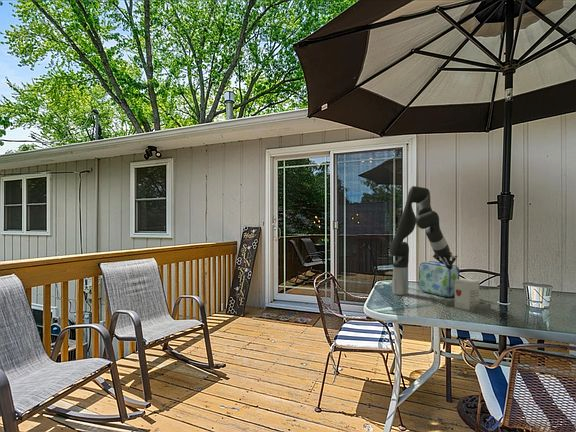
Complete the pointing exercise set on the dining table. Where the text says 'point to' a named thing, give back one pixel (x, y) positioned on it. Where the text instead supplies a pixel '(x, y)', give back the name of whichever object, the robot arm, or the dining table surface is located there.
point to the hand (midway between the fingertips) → (450, 268)
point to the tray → (474, 309)
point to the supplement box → (466, 293)
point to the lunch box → (438, 278)
